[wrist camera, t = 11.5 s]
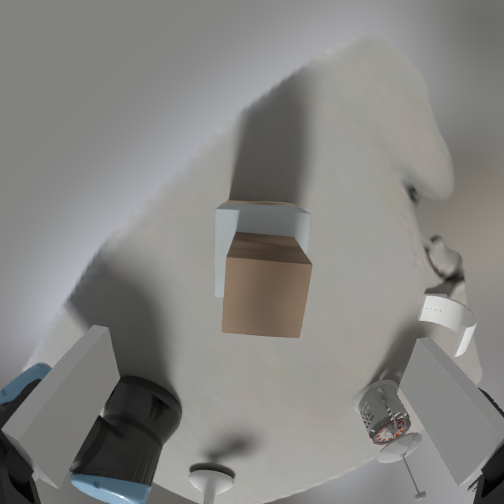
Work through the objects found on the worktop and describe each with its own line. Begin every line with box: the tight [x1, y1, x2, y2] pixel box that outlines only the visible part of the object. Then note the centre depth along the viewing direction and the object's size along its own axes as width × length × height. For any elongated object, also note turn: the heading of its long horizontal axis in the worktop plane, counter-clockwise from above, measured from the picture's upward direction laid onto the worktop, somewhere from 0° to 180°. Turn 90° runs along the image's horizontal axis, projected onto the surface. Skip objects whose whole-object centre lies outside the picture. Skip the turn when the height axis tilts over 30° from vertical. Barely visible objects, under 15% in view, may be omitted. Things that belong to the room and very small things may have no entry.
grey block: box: [215, 203, 310, 297], centre depth 27 cm, size 8×8×6 cm
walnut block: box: [222, 232, 312, 338], centre depth 20 cm, size 5×5×8 cm
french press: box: [352, 379, 426, 501], centre depth 31 cm, size 10×12×25 cm
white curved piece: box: [417, 294, 477, 357], centre depth 33 cm, size 5×6×12 cm
